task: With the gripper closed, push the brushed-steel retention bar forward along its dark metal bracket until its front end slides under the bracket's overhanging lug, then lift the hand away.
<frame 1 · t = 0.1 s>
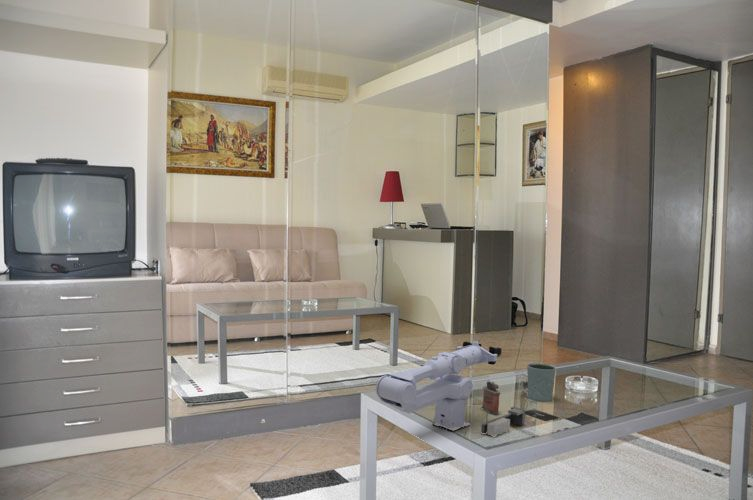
hand: (490, 348, 201), 22 cm above the table, tool horizontal, fingers open, 7 cm apart
bracket: (508, 428, 187), on the table
bar: (498, 427, 183), point 2 cm above the table, slide at 0.0 cm
lighter: (490, 411, 204), on the table
green plant pot: (539, 398, 224), on the table
solid state drive: (539, 417, 203), on the table
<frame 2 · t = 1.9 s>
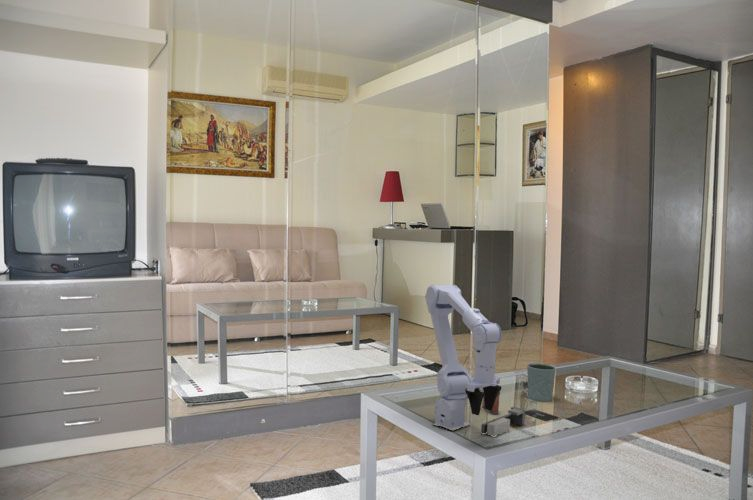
hand: (482, 411, 175), 8 cm above the table, tool pointing down, fingers open, 6 cm apart
nothing on the table moved.
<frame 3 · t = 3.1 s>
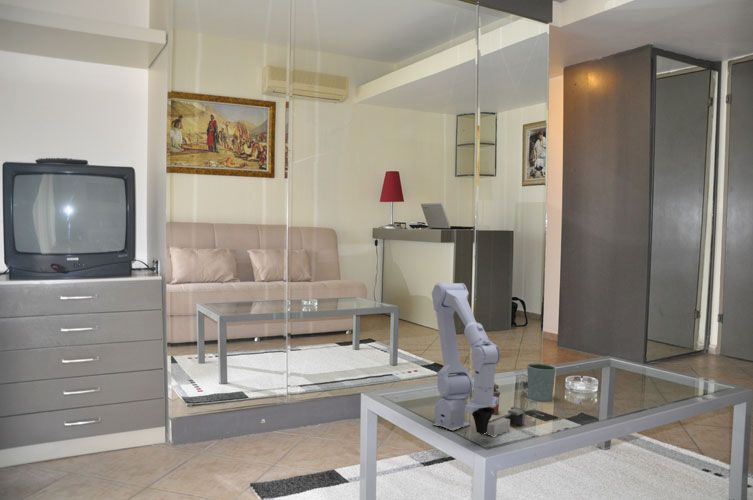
hand: (480, 432, 175), 2 cm above the table, tool pointing down, fingers closed
nothing on the table moved.
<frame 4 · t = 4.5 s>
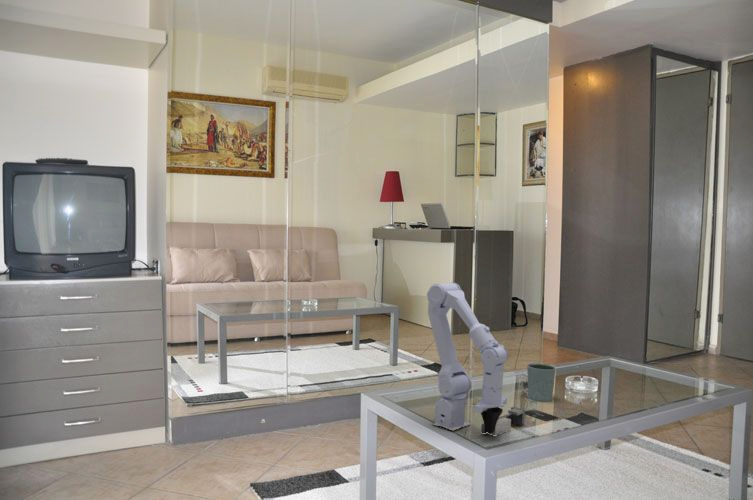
hand: (489, 432, 179), 1 cm above the table, tool pointing down, fingers closed
bar: (499, 426, 183), point 2 cm above the table, slide at 0.6 cm, touching gripper
everything else where it was.
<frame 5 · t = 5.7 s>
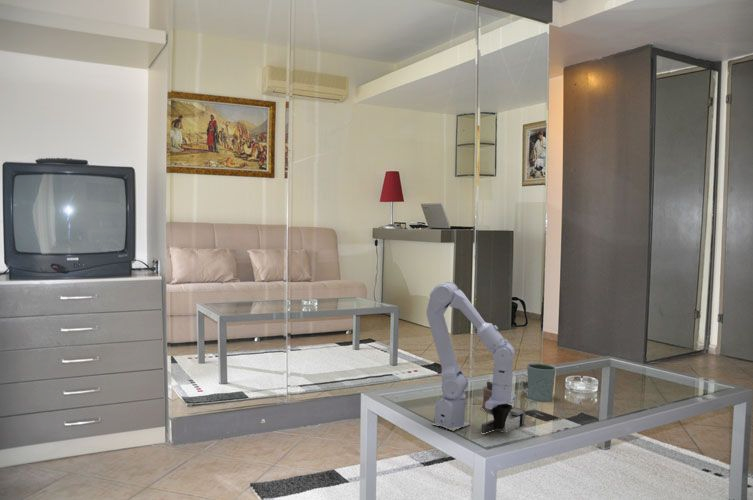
hand: (499, 428, 183), 1 cm above the table, tool pointing down, fingers closed
bar: (509, 423, 187), point 2 cm above the table, slide at 6.1 cm, touching gripper
everything else where it was.
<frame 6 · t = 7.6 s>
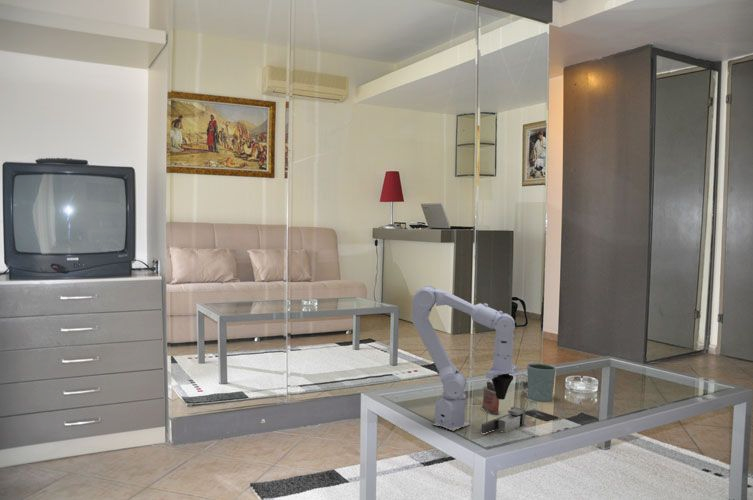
hand: (500, 398, 185), 10 cm above the table, tool pointing down, fingers closed
bar: (509, 423, 187), point 2 cm above the table, slide at 6.2 cm
everything else where it was.
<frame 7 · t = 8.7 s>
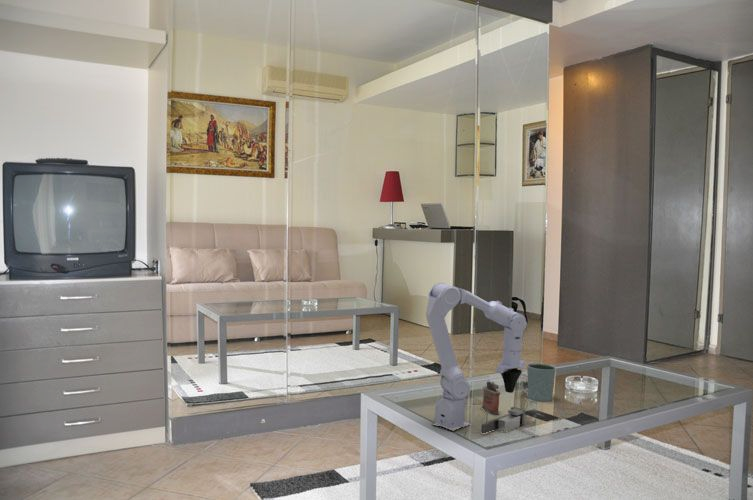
hand: (509, 392, 193), 10 cm above the table, tool pointing down, fingers closed
nothing on the table moved.
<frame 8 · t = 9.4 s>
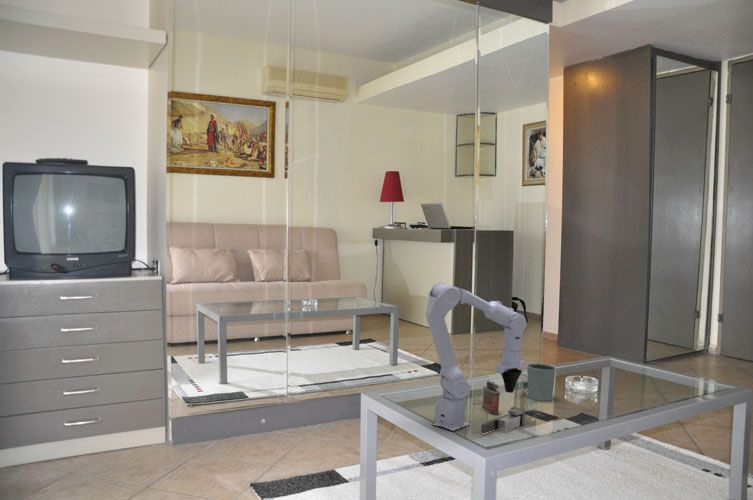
hand: (509, 392, 193), 10 cm above the table, tool pointing down, fingers closed
nothing on the table moved.
at the end: bar slide at 6.2 cm; the gripper is holding nothing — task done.
